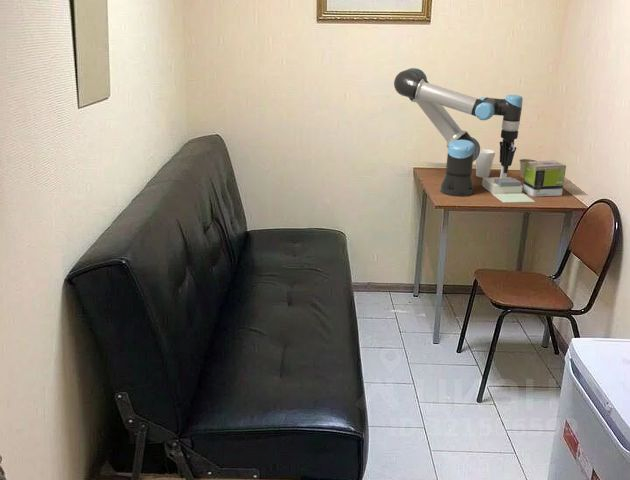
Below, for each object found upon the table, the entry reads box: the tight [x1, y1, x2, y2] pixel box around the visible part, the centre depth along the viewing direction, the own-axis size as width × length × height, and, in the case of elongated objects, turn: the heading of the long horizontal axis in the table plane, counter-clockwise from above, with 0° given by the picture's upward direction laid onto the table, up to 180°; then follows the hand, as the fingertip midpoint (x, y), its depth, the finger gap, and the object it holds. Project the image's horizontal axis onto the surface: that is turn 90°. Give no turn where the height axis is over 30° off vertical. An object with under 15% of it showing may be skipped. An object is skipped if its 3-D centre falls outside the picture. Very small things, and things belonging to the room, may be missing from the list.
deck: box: [481, 176, 524, 195], centre depth 302 cm, size 14×14×4 cm
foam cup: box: [475, 148, 496, 179], centre depth 323 cm, size 10×9×13 cm
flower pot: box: [519, 158, 537, 180], centre depth 323 cm, size 9×9×9 cm
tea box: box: [522, 160, 567, 198], centre depth 296 cm, size 15×10×15 cm
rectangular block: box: [494, 177, 522, 187], centre depth 297 cm, size 10×7×2 cm
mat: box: [492, 192, 536, 204], centre depth 290 cm, size 15×12×1 cm
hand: (503, 179), depth 300 cm, fingers closed
